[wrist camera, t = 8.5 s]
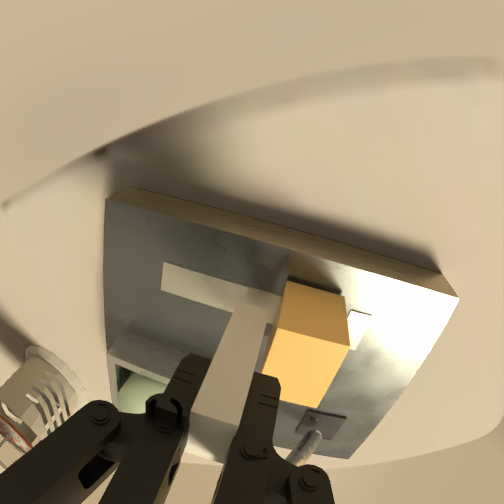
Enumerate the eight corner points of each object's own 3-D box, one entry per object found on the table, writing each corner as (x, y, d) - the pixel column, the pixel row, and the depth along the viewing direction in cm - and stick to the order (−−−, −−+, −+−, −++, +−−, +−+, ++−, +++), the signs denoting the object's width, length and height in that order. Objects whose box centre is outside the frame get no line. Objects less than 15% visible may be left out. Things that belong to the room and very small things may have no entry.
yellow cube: (267, 341, 18) (254, 393, 14) (287, 280, 16) (277, 328, 12) (318, 355, 17) (316, 408, 14) (344, 296, 16) (350, 346, 12)
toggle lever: (297, 432, 20) (212, 524, 13) (308, 414, 19) (217, 513, 12) (324, 449, 19) (246, 547, 12) (338, 431, 18) (256, 539, 11)
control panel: (127, 367, 26) (97, 410, 21) (132, 187, 19) (78, 211, 14) (347, 431, 24) (347, 484, 19) (442, 274, 18) (476, 324, 13)
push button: (136, 393, 22) (119, 420, 19) (135, 347, 20) (114, 376, 17) (197, 416, 22) (185, 446, 19) (206, 373, 20) (191, 406, 17)
